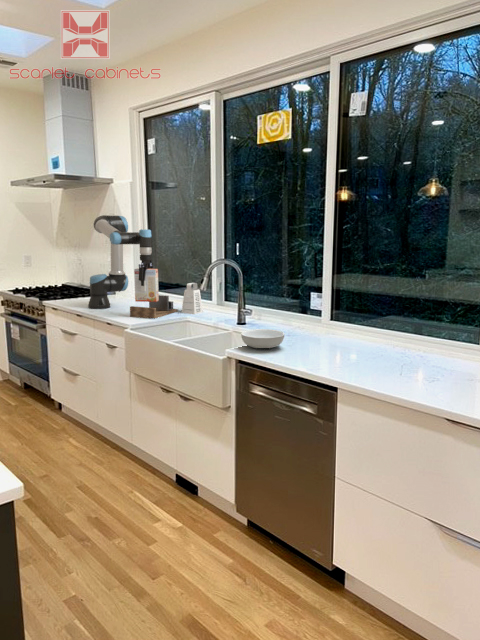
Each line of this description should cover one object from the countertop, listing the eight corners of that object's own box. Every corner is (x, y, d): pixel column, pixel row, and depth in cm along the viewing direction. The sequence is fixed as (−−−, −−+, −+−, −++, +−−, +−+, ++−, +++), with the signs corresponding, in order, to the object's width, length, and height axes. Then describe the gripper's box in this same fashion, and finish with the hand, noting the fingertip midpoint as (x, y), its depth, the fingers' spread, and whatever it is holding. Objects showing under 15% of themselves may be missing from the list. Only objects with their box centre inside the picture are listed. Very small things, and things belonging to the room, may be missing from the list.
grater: (202, 312, 324) (202, 283, 321) (194, 314, 315) (194, 284, 311) (190, 310, 329) (190, 282, 325) (181, 312, 320) (181, 283, 316)
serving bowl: (269, 340, 242) (269, 327, 241) (292, 349, 224) (293, 335, 223) (233, 344, 232) (233, 330, 231) (254, 354, 214) (254, 339, 213)
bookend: (149, 309, 321) (148, 294, 319) (156, 307, 330) (156, 293, 328) (167, 310, 316) (167, 296, 314) (174, 308, 325) (174, 294, 324)
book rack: (130, 316, 304) (129, 306, 302) (155, 309, 332) (154, 300, 331) (154, 318, 297) (154, 308, 296) (177, 311, 326) (177, 302, 325)
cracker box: (158, 300, 306) (158, 268, 303) (156, 302, 301) (155, 269, 297) (137, 300, 308) (137, 268, 304) (134, 301, 302) (134, 268, 298)
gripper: (142, 255, 288) (143, 292, 293) (158, 253, 306) (159, 289, 311) (131, 254, 291) (132, 291, 295) (148, 253, 309) (149, 288, 313)
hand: (146, 290), depth 303 cm, fingers closed on cracker box, 7 cm apart
